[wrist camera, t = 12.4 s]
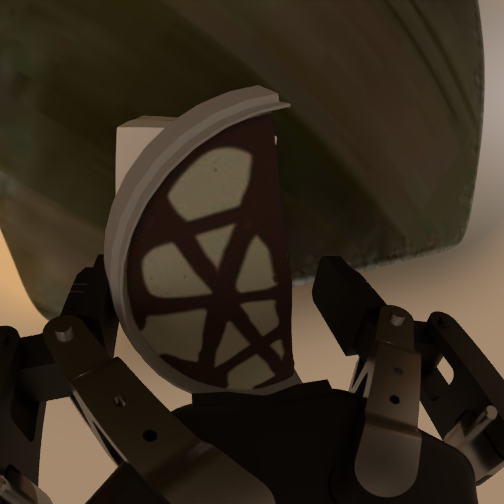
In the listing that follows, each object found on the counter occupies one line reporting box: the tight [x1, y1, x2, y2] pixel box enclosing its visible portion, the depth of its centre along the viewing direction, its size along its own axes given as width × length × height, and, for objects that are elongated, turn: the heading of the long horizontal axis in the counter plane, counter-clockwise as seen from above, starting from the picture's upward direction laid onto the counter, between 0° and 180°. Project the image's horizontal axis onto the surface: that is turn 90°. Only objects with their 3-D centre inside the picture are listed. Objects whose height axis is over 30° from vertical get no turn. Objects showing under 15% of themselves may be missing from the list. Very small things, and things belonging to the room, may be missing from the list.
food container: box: [104, 85, 302, 395], centre depth 13 cm, size 12×6×10 cm, turn 8°
